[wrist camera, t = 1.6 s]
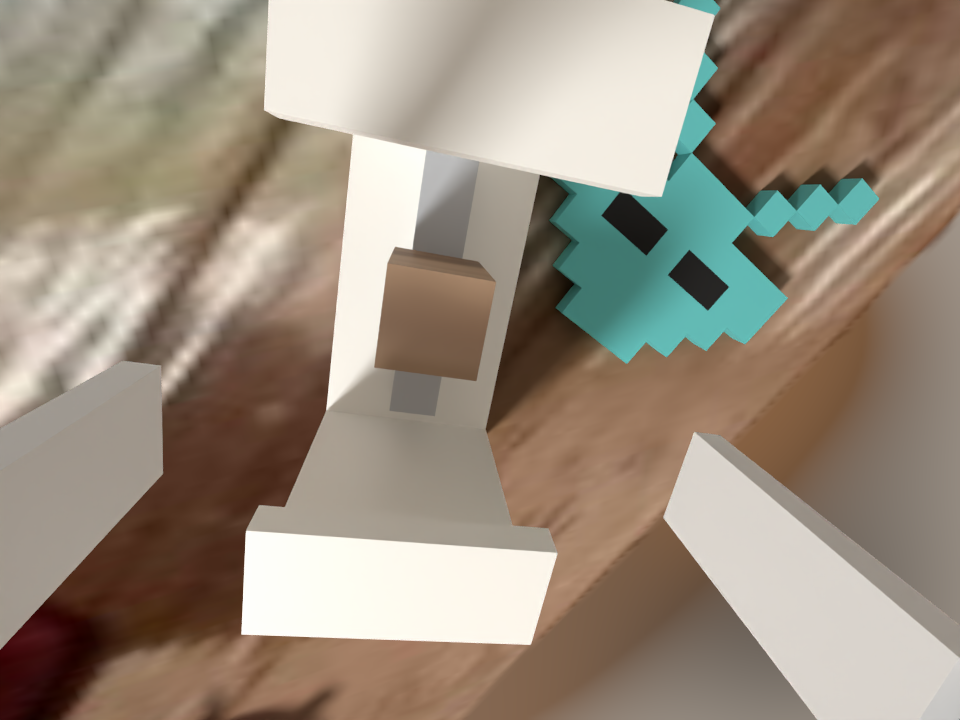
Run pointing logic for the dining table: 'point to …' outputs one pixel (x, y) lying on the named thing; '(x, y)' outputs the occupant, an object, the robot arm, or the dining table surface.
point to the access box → (456, 233)
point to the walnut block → (434, 314)
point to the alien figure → (681, 248)
